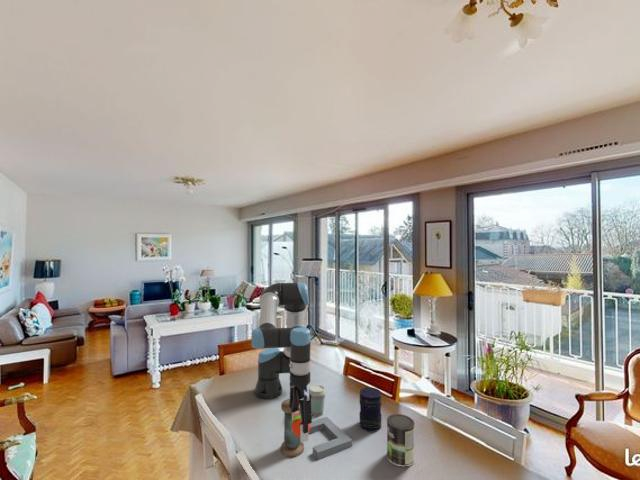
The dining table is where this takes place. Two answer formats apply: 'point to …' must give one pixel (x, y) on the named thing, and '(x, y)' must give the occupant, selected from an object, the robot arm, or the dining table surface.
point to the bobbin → (290, 434)
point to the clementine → (297, 425)
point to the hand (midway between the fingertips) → (299, 435)
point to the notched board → (336, 433)
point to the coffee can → (400, 440)
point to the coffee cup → (317, 399)
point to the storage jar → (370, 409)
